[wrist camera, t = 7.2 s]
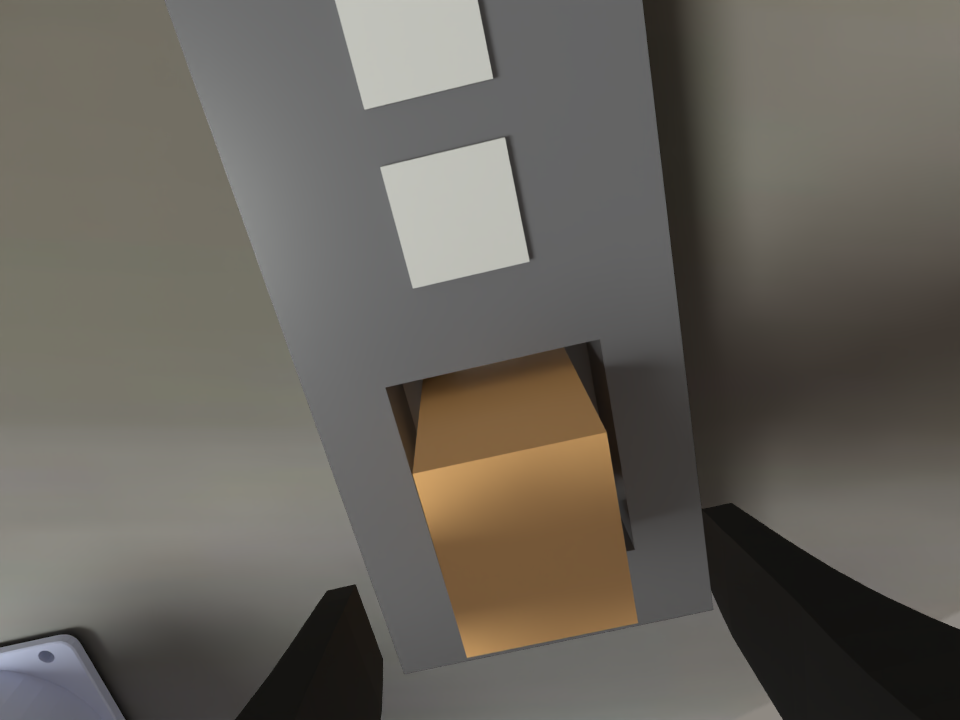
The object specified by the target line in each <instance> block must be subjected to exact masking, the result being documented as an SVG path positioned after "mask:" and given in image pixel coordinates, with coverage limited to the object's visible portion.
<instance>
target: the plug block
mask: <svg viewBox="0 0 960 720" xmlns="http://www.w3.org/2000/svg"><path fill="white" fill-rule="evenodd" d="M413 477H414V481H415V484H416V487H417V491H418V494H419V497H420V501H421V504H422V508H423V511H424V514H425V518H426V521H427V524H428V528H429V531H430V534H431V538H432V541H433V545H434V548H435V551H436V555H437V558H438V561H439V565H440V568H441V572H442V575H443V578H444V582H445V585H446V588H447V592H448V595H449V599H450V602H451V605H452V609H453V612H454V615H455V619H456V622H457V626H458V629H459V632H460V636H461V639H462V642H463V646H464V649H465V653H466V656H467V658H469V657H474V656H479V655H484V654H489V653H494V652H499V651H504V650H509V649H514V648H518V647H523V646H528V645H533V644H538V643H543V642H548V641H553V640H558V639H563V638H568V637H573V636H577V635H582V634H587V633H592V632H597V631H602V630H607V629H612V628H617V627H622V626H627V625H632V624H637V623H638V620H637V613H636V607H635V601H634V595H633V589H632V583H631V577H630V571H629V565H628V559H627V553H626V547H625V540H624V534H623V528H622V522H621V516H620V510H619V504H618V498H617V492H616V486H615V480H614V474H613V467H612V461H611V455H610V449H609V443H608V437H607V432H606V430H605V428H604V426H603V424H602V422H601V420H600V418H599V416H598V414H597V412H596V410H595V408H594V406H593V404H592V402H591V400H590V398H589V396H588V394H587V392H586V390H585V388H584V386H583V384H582V382H581V380H580V378H579V376H578V374H577V372H576V370H575V368H574V366H573V364H572V362H571V360H570V358H569V356H568V354H567V352H566V350H565V348H564V347H563V348H558V349H554V350H549V351H545V352H540V353H536V354H532V355H527V356H523V357H518V358H514V359H509V360H505V361H501V362H496V363H492V364H487V365H483V366H479V367H474V368H470V369H465V370H461V371H456V372H452V373H448V374H443V375H439V376H434V377H430V378H425V379H423V382H422V392H421V401H420V410H419V419H418V428H417V438H416V447H415V456H414V465H413Z"/></svg>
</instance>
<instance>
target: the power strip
mask: <svg viewBox="0 0 960 720" xmlns="http://www.w3.org/2000/svg"><path fill="white" fill-rule="evenodd" d="M165 3H166V6H167V9H168V12H169V14H170V17H171V20H172V23H173V26H174V28H175V31H176V34H177V37H178V40H179V42H180V45H181V48H182V51H183V54H184V56H185V59H186V62H187V65H188V68H189V71H190V73H191V76H192V79H193V82H194V85H195V87H196V90H197V93H198V96H199V99H200V101H201V104H202V107H203V110H204V113H205V116H206V118H207V121H208V124H209V127H210V130H211V132H212V135H213V138H214V141H215V144H216V146H217V149H218V152H219V155H220V158H221V160H222V163H223V166H224V169H225V172H226V175H227V177H228V180H229V183H230V186H231V189H232V191H233V194H234V197H235V200H236V203H237V205H238V208H239V211H240V214H241V217H242V219H243V222H244V225H245V228H246V231H247V234H248V236H249V239H250V242H251V245H252V248H253V250H254V253H255V256H256V259H257V262H258V264H259V267H260V270H261V273H262V276H263V278H264V281H265V284H266V287H267V290H268V293H269V295H270V298H271V301H272V304H273V307H274V309H275V312H276V315H277V318H278V321H279V323H280V326H281V329H282V332H283V335H284V338H285V340H286V343H287V346H288V349H289V352H290V354H291V357H292V360H293V363H294V366H295V368H296V371H297V374H298V377H299V380H300V382H301V385H302V388H303V391H304V394H305V397H306V399H307V402H308V405H309V408H310V411H311V413H312V416H313V419H314V422H315V425H316V427H317V430H318V433H319V436H320V439H321V441H322V444H323V447H324V450H325V453H326V456H327V458H328V461H329V464H330V467H331V470H332V472H333V475H334V478H335V481H336V484H337V486H338V489H339V492H340V495H341V498H342V501H343V503H344V506H345V509H346V512H347V515H348V517H349V520H350V523H351V526H352V529H353V531H354V534H355V537H356V540H357V543H358V545H359V548H360V551H361V554H362V557H363V560H364V562H365V565H366V568H367V571H368V574H369V576H370V579H371V582H372V585H373V588H374V590H375V593H376V596H377V599H378V602H379V604H380V607H381V610H382V613H383V616H384V619H385V621H386V624H387V627H388V630H389V633H390V635H391V638H392V641H393V644H394V647H395V649H396V652H397V655H398V658H399V661H400V663H401V666H402V669H403V672H404V674H408V673H412V672H417V671H422V670H427V669H432V668H437V667H441V666H446V665H451V664H456V663H461V662H465V661H470V660H475V659H480V658H485V657H489V656H494V655H499V654H504V653H509V652H513V651H518V650H523V649H528V648H533V647H538V646H542V645H547V644H552V643H557V642H562V641H566V640H571V639H576V638H581V637H586V636H590V635H595V634H600V633H605V632H610V631H614V630H619V629H624V628H629V627H634V626H639V625H643V624H648V623H653V622H658V621H663V620H667V619H672V618H677V617H682V616H687V615H691V614H696V613H701V612H706V611H711V610H713V603H712V595H711V587H710V578H709V570H708V561H707V553H706V544H705V536H704V527H703V519H702V510H701V500H700V492H699V483H698V475H697V466H696V457H695V449H694V440H693V432H692V423H691V415H690V406H689V397H688V389H687V380H686V372H685V363H684V354H683V346H682V337H681V329H680V320H679V312H678V303H677V294H676V286H675V277H674V269H673V260H672V251H671V243H670V234H669V226H668V217H667V209H666V200H665V191H664V183H663V174H662V166H661V157H660V148H659V140H658V131H657V123H656V114H655V106H654V97H653V88H652V80H651V71H650V63H649V54H648V45H647V37H646V28H645V20H644V11H643V3H642V0H165ZM563 347H564V348H565V350H566V352H567V354H568V356H569V358H570V360H571V362H572V364H573V366H574V368H575V370H576V372H577V374H578V376H579V378H580V380H581V382H582V384H583V386H584V388H585V390H586V392H587V394H588V396H589V398H590V400H591V402H592V404H593V406H594V408H595V410H596V412H597V414H598V416H599V418H600V420H601V422H602V424H603V426H604V428H605V430H606V432H607V437H608V443H609V449H610V455H611V461H612V467H613V474H614V480H615V486H616V492H617V498H618V504H619V510H620V516H621V522H622V528H623V534H624V540H625V547H626V553H627V559H628V565H629V571H630V577H631V583H632V589H633V595H634V601H635V607H636V613H637V620H638V623H637V624H632V625H627V626H622V627H617V628H612V629H607V630H602V631H597V632H592V633H587V634H582V635H577V636H573V637H568V638H563V639H558V640H553V641H548V642H543V643H538V644H533V645H528V646H523V647H518V648H514V649H509V650H504V651H499V652H494V653H489V654H484V655H479V656H474V657H469V658H467V656H466V653H465V649H464V646H463V642H462V639H461V636H460V632H459V629H458V626H457V622H456V619H455V615H454V612H453V609H452V605H451V602H450V599H449V595H448V592H447V588H446V585H445V582H444V578H443V575H442V572H441V568H440V565H439V561H438V558H437V555H436V551H435V548H434V545H433V541H432V538H431V534H430V531H429V528H428V524H427V521H426V518H425V514H424V511H423V508H422V504H421V501H420V497H419V494H418V491H417V487H416V484H415V481H414V477H413V465H414V456H415V447H416V438H417V428H418V419H419V410H420V401H421V392H422V382H423V379H425V378H430V377H434V376H439V375H443V374H448V373H452V372H456V371H461V370H465V369H470V368H474V367H479V366H483V365H487V364H492V363H496V362H501V361H505V360H509V359H514V358H518V357H523V356H527V355H532V354H536V353H540V352H545V351H549V350H554V349H558V348H563Z"/></svg>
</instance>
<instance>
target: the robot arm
mask: <svg viewBox="0 0 960 720" xmlns="http://www.w3.org/2000/svg"><path fill="white" fill-rule="evenodd" d="M701 510H702V519H703V527H704V536H705V544H706V553H707V561H708V570H709V578H710V587H711V591H712V593H713V595H714V598H715V600H716V602H717V604H718V607H719V609H720V611H721V613H722V615H723V618H724V620H725V622H726V624H727V626H728V628H729V630H730V632H731V635H732V637H733V638H734V640H735V642H736V643H737V645H738V647H739V648H740V650H741V652H742V653H743V655H744V657H745V658H746V660H747V662H748V663H749V665H750V667H751V668H752V670H753V671H754V673H755V675H756V676H757V678H758V680H759V681H760V683H761V685H762V686H763V688H764V689H765V691H766V693H767V694H768V696H769V698H770V699H771V701H772V702H773V704H774V706H775V707H776V709H777V711H778V712H779V714H780V716H781V717H782V719H783V720H960V629H957V628H955V627H952V626H949V625H948V624H945V623H943V622H940V621H938V620H936V619H933V618H931V617H929V616H926V615H924V614H922V613H920V612H918V611H916V610H913V609H911V608H909V607H907V606H905V605H903V604H901V603H898V602H896V601H894V600H892V599H890V598H888V597H886V596H884V595H882V594H880V593H878V592H876V591H874V590H872V589H870V588H868V587H866V586H864V585H862V584H861V583H859V582H857V581H855V580H853V579H851V578H850V577H848V576H846V575H844V574H842V573H841V572H839V571H837V570H835V569H833V568H832V567H830V566H828V565H827V564H825V563H823V562H822V561H820V560H818V559H817V558H815V557H813V556H812V555H810V554H809V553H807V552H805V551H804V550H802V549H800V548H799V547H797V546H796V545H794V544H793V543H791V542H789V541H788V540H786V539H785V538H783V537H782V536H780V535H779V534H777V533H776V532H774V531H773V530H771V529H770V528H768V527H767V526H765V525H764V524H762V523H761V522H759V521H758V520H756V519H755V518H753V517H752V516H750V515H749V514H747V513H746V512H744V511H743V510H741V509H740V508H738V507H737V506H735V505H734V504H732V503H729V504H724V505H720V506H715V507H710V508H706V509H701ZM48 651H49V652H48ZM50 652H51V653H50ZM382 691H383V658H382V655H381V652H380V650H379V647H378V644H377V642H376V639H375V636H374V633H373V631H372V628H371V625H370V622H369V620H368V617H367V614H366V612H365V609H364V606H363V603H362V601H361V598H360V595H359V592H358V590H357V587H356V585H351V586H347V587H342V588H337V589H333V590H328V591H327V592H326V593H325V594H324V596H323V597H322V599H321V600H320V602H319V603H318V605H317V606H316V608H315V609H314V610H313V612H312V613H311V615H310V616H309V618H308V619H307V621H306V622H305V624H304V625H303V627H302V628H301V630H300V631H299V633H298V634H297V636H296V637H295V639H294V640H293V642H292V643H291V645H290V646H289V648H288V649H287V650H286V652H285V653H284V655H283V656H282V658H281V659H280V660H279V662H278V663H277V665H276V666H275V668H274V669H273V671H272V672H271V673H270V675H269V676H268V677H267V679H266V680H265V681H264V683H263V684H262V685H261V687H260V688H259V689H258V691H257V692H256V693H255V695H254V696H253V697H252V698H251V700H250V701H249V702H248V704H247V705H246V706H245V708H244V709H243V710H242V712H241V713H240V714H239V715H238V717H237V718H236V719H235V720H381V712H382ZM0 720H125V718H124V717H123V715H122V713H121V711H120V710H119V708H118V706H117V705H116V703H115V701H114V700H113V698H112V696H111V694H110V693H109V691H108V689H107V688H106V686H105V684H104V683H103V681H102V679H101V677H100V676H99V674H98V672H97V671H96V669H95V667H94V665H93V664H92V662H91V660H90V659H89V657H88V655H87V654H86V652H85V650H84V648H83V647H82V645H81V643H80V642H79V641H78V640H77V638H75V637H73V636H71V635H67V634H65V635H56V636H52V637H47V638H42V639H38V640H33V641H28V642H24V643H19V644H14V645H10V646H5V647H0Z"/></svg>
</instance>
